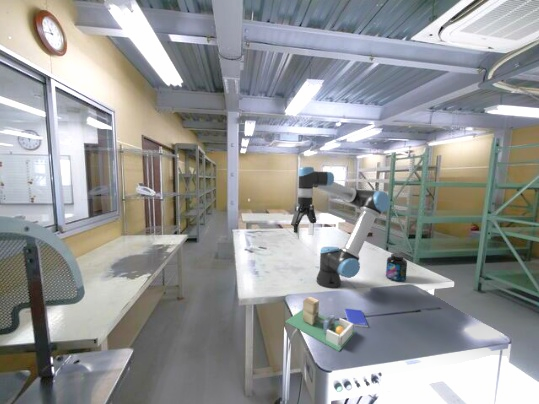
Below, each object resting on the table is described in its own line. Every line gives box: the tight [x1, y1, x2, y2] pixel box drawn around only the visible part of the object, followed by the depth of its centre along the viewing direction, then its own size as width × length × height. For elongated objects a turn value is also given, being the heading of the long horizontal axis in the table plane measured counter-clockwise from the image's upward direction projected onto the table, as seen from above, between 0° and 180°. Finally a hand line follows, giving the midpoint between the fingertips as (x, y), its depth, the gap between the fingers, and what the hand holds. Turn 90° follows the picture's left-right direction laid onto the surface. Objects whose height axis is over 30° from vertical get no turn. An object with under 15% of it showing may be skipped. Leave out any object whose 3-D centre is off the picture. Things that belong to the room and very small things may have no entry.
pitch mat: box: [284, 309, 357, 352], centre depth 101 cm, size 16×26×1 cm, turn 47°
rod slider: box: [302, 296, 336, 334], centre depth 101 cm, size 7×12×10 cm, turn 47°
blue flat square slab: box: [344, 308, 369, 328], centre depth 108 cm, size 2×8×12 cm
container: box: [385, 253, 408, 283], centre depth 155 cm, size 12×12×17 cm
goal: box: [326, 317, 355, 347], centre depth 95 cm, size 12×6×4 cm, turn 137°
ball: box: [335, 326, 345, 335], centre depth 95 cm, size 4×4×4 cm
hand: (303, 236), depth 122 cm, fingers open, 13 cm apart
